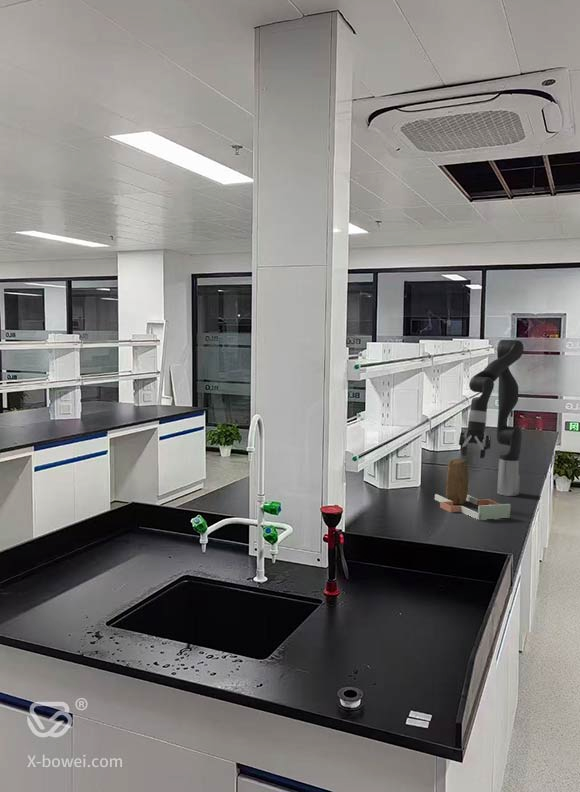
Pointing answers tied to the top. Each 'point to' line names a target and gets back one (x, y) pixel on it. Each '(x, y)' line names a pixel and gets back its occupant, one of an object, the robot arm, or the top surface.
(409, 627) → the top surface
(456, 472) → the block
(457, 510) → the trap channel
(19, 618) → the top surface
